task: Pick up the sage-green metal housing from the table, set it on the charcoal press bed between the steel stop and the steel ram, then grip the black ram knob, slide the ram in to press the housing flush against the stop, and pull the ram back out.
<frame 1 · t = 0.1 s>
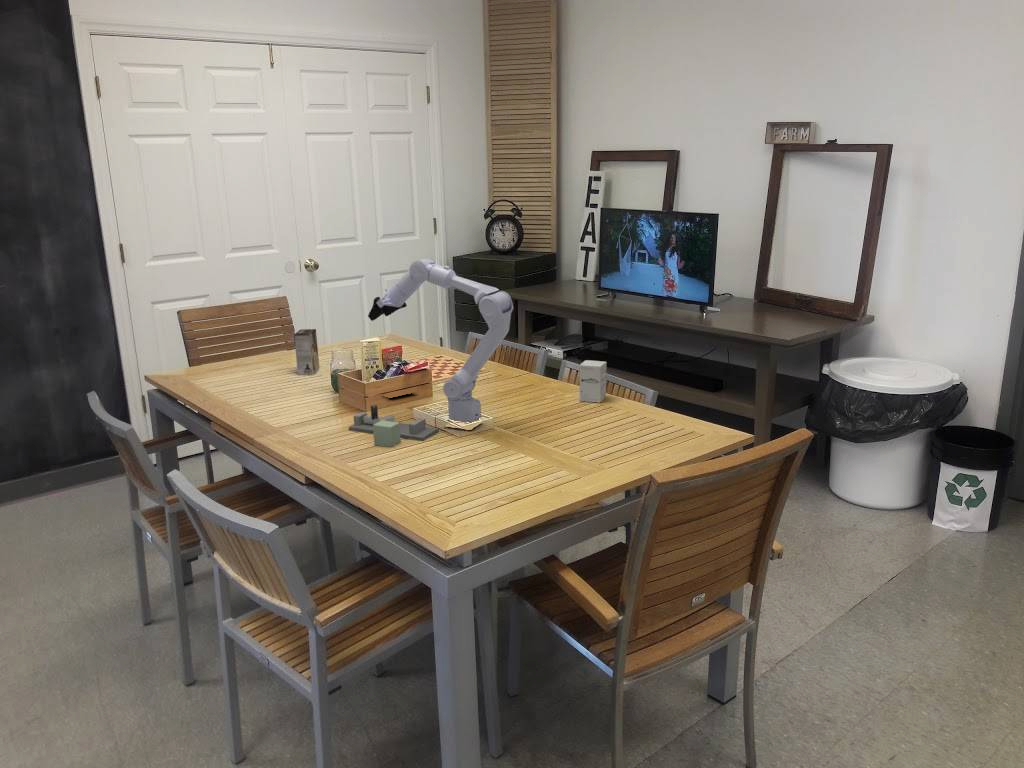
hand: (377, 316, 251), 32 cm above the table, tool tilted 50°, fingers open, 7 cm apart
housing: (387, 443, 234), on the table
ram: (375, 415, 246), point 4 cm above the table, slide at 0.0 cm
press bed: (395, 431, 245), on the table
supplement box: (592, 400, 272), on the table
coffee box: (308, 372, 315), on the table
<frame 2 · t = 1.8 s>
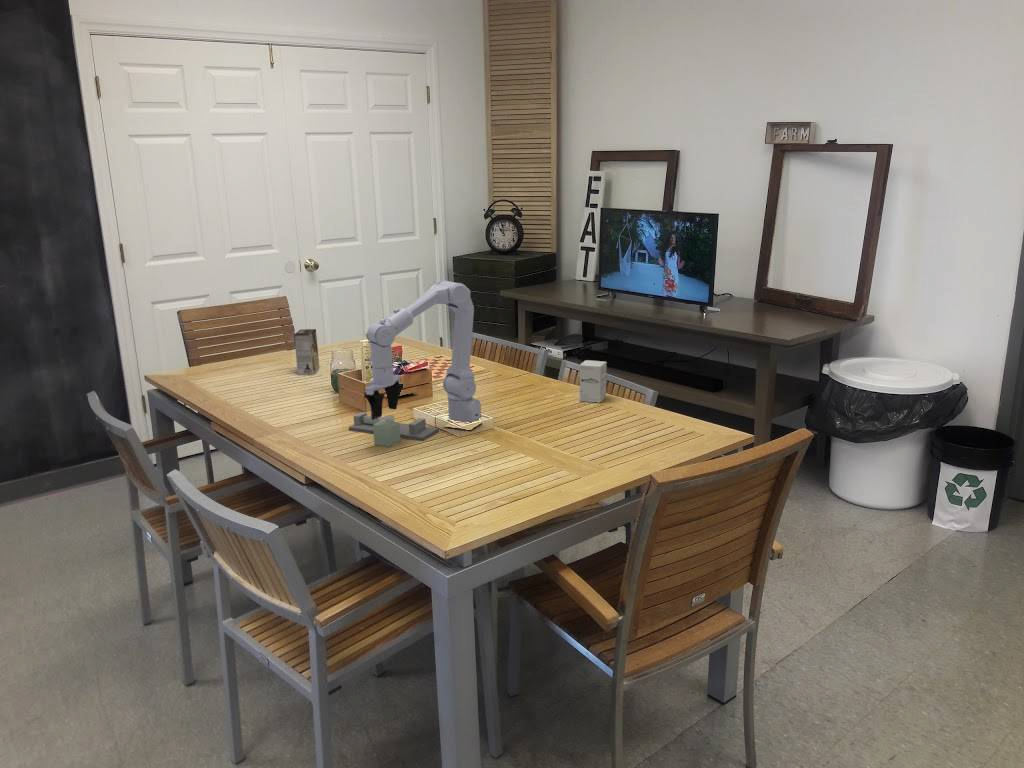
hand: (385, 412, 232), 9 cm above the table, tool pointing down, fingers open, 7 cm apart
nothing on the table moved.
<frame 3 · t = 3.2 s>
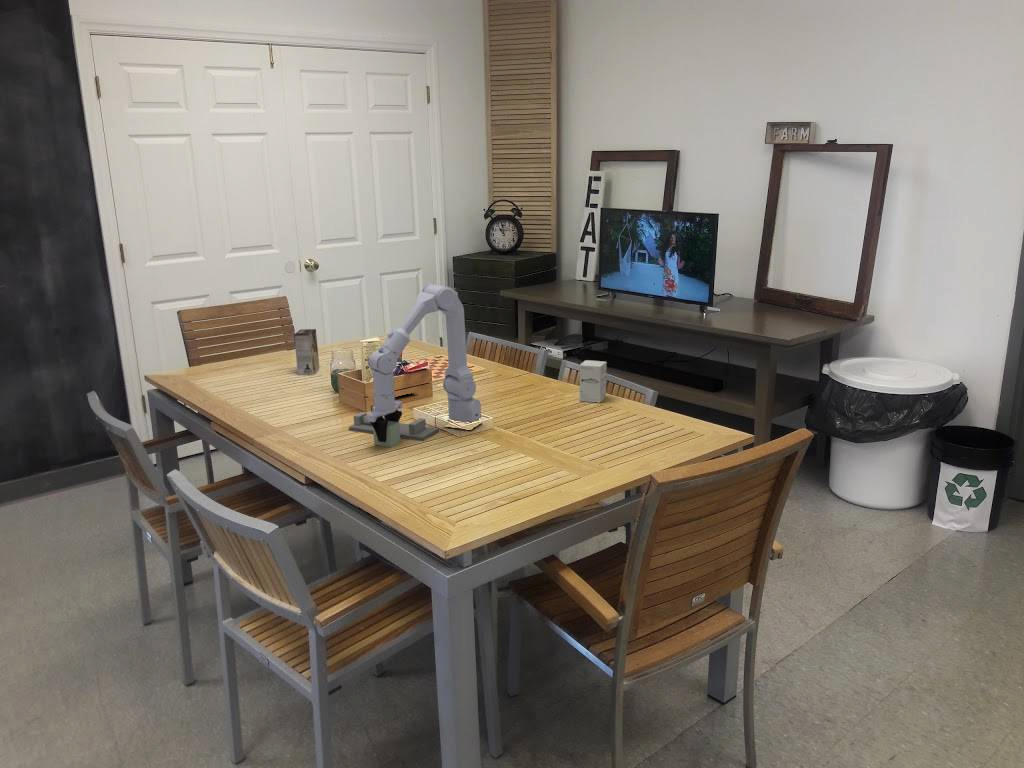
hand: (387, 438, 234), 1 cm above the table, tool pointing down, fingers closed on housing, 4 cm apart
housing: (387, 443, 234), on the table, touching gripper
everything else where it was.
when the fingers open (4 cm above the table, at t = 6.3 s): housing stays where it is, resting on press bed.
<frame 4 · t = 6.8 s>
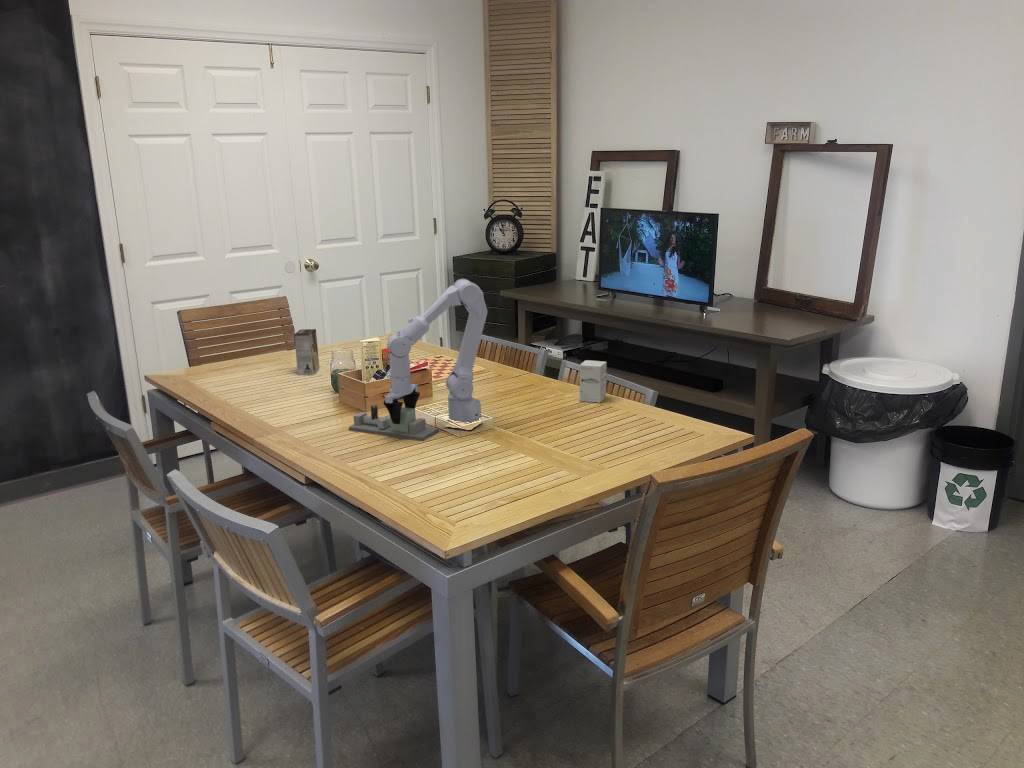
hand: (403, 419, 242), 4 cm above the table, tool pointing down, fingers open, 7 cm apart
housing: (403, 429, 243), point 1 cm above the table, touching press bed
everything else where it was.
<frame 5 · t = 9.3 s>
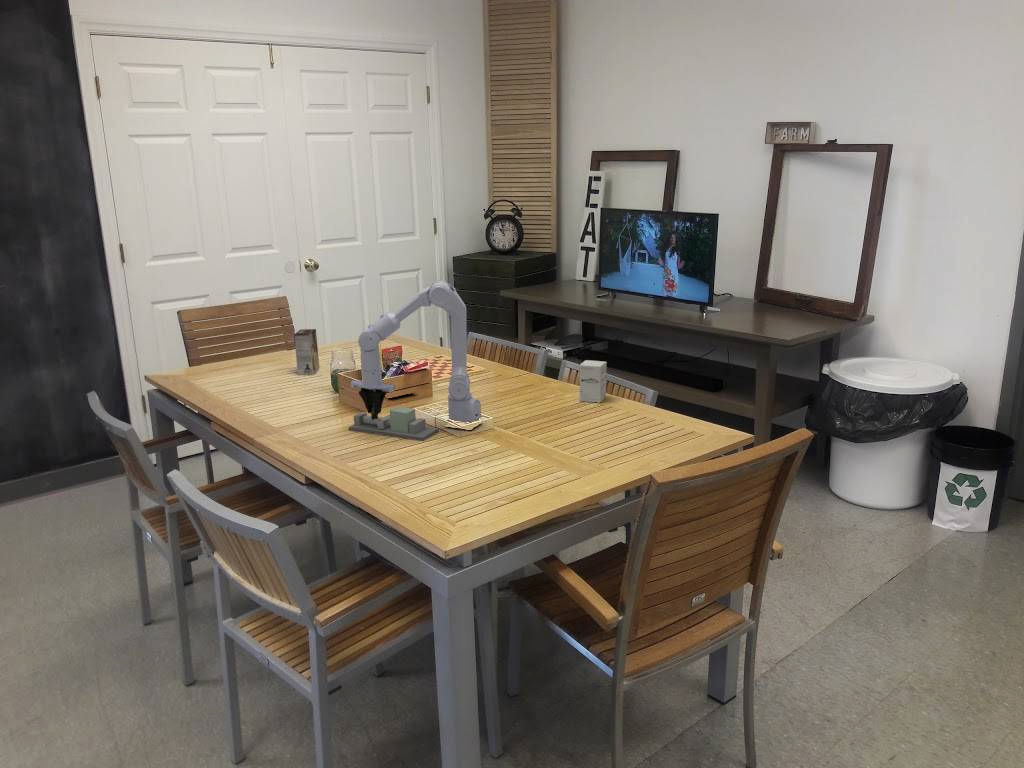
hand: (374, 412, 246), 5 cm above the table, tool pointing down, fingers closed on ram, 2 cm apart
ram: (375, 415, 246), point 4 cm above the table, slide at 0.0 cm, touching gripper
everything else where it was.
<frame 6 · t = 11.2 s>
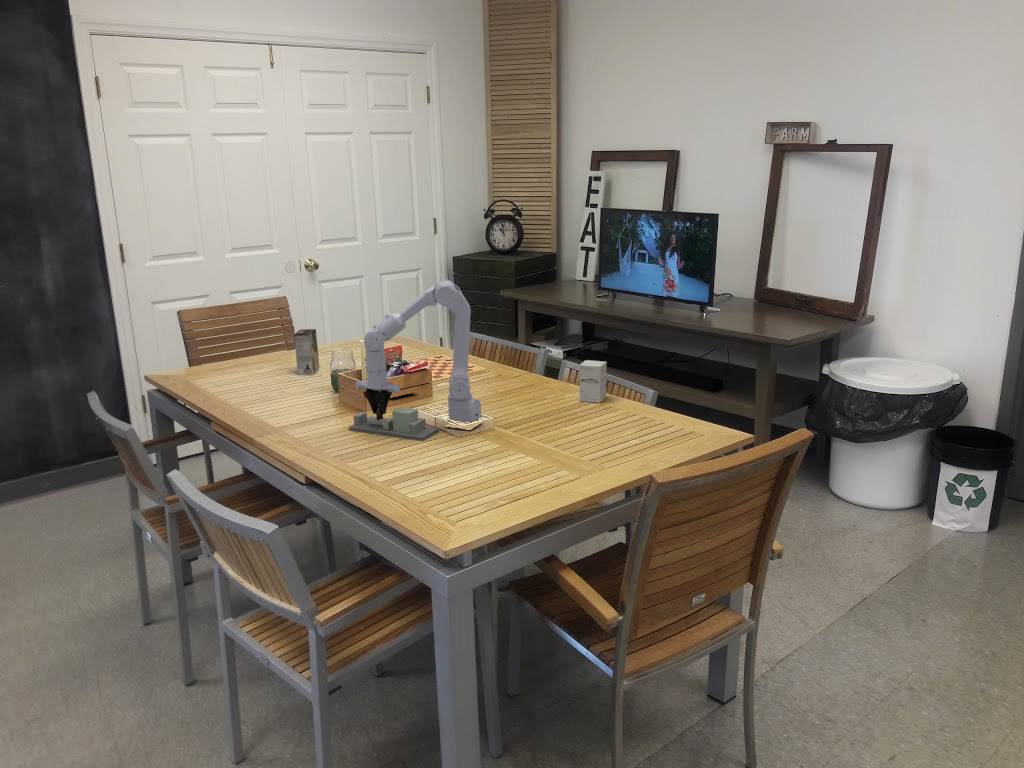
hand: (379, 413, 246), 5 cm above the table, tool pointing down, fingers closed on ram, 2 cm apart
ram: (381, 416, 246), point 4 cm above the table, slide at 1.8 cm, touching gripper
everything else where it was.
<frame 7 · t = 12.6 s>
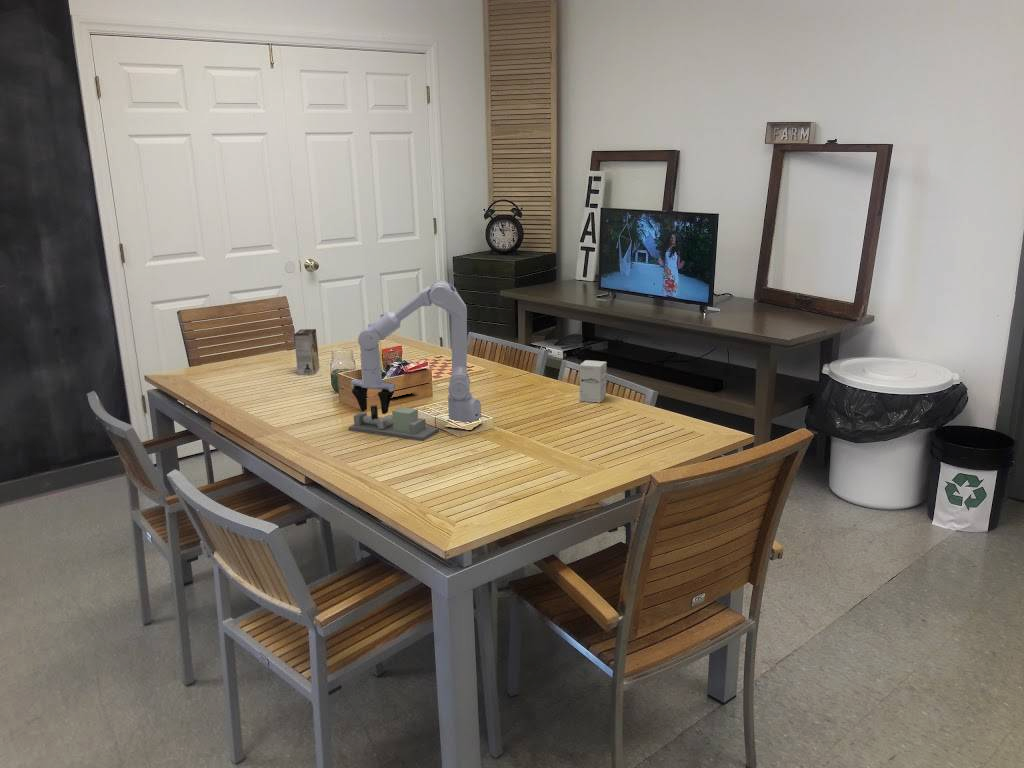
hand: (374, 411, 246), 5 cm above the table, tool pointing down, fingers open, 7 cm apart
ram: (375, 415, 246), point 4 cm above the table, slide at 0.0 cm
everything else where it was.
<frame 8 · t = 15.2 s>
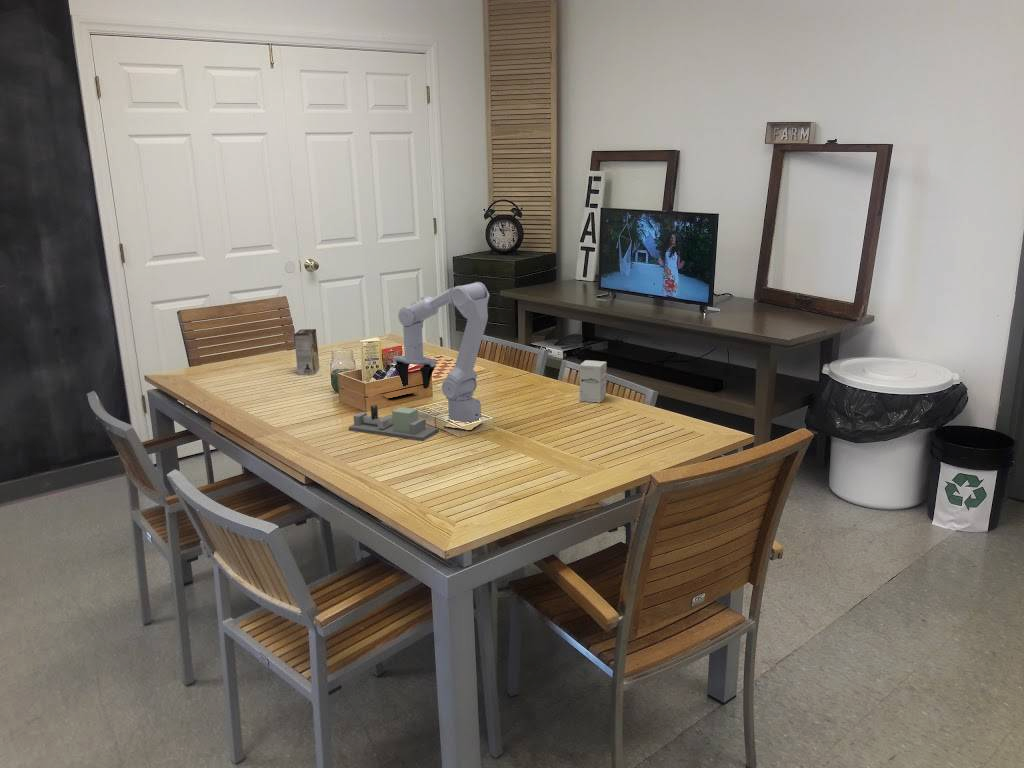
hand: (415, 386, 257), 9 cm above the table, tool pointing down, fingers open, 7 cm apart
nothing on the table moved.
at the end: housing 0.2 cm from the target spot on the press bed, point 1.0 cm above the press bed's base; housing tilted 0°; ram slide at 0.0 cm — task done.
